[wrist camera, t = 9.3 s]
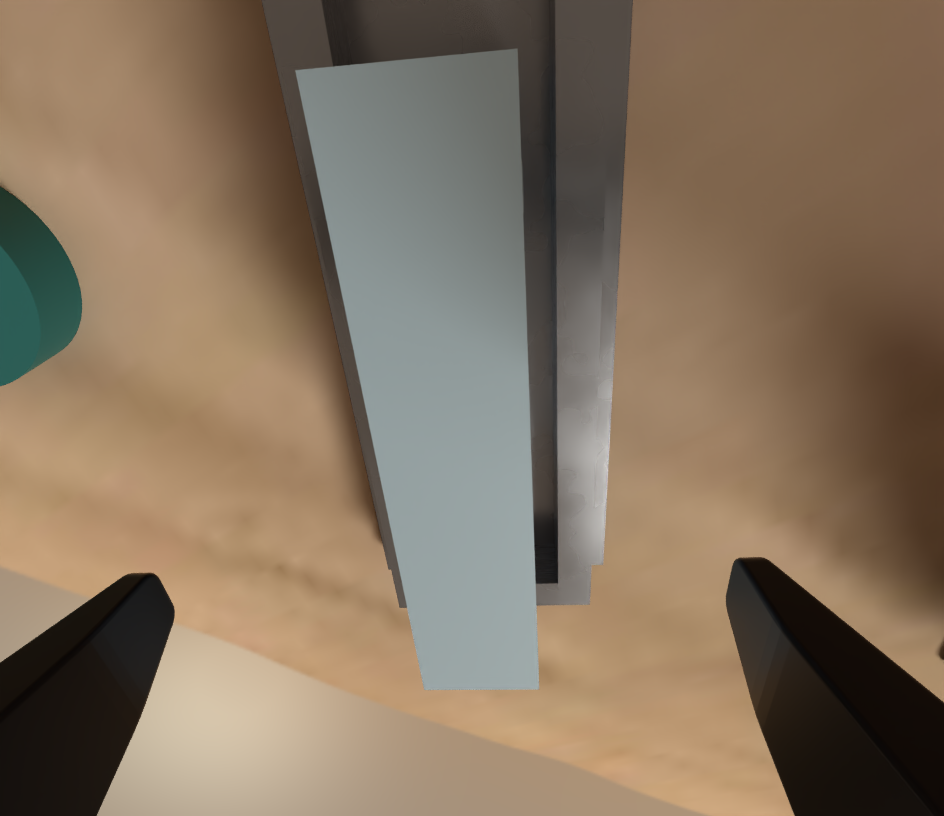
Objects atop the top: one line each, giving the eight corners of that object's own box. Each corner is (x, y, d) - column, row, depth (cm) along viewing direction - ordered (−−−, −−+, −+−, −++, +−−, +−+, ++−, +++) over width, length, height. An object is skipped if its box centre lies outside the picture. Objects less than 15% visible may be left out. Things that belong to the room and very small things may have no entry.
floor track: (599, 546, 24) (610, 604, 21) (392, 552, 25) (379, 608, 22) (632, -159, 13) (665, -215, 10) (251, -110, 14) (192, -152, 11)
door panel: (528, 490, 21) (540, 689, 15) (448, 493, 22) (422, 689, 15) (512, 57, 14) (521, 48, 7) (391, 69, 14) (291, 70, 8)
